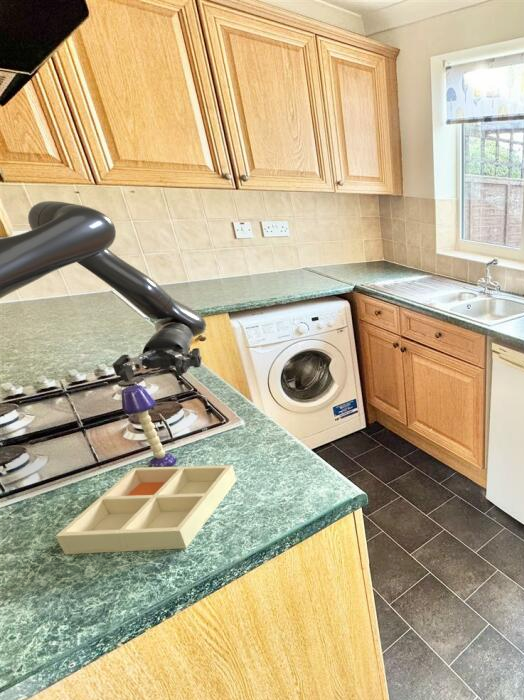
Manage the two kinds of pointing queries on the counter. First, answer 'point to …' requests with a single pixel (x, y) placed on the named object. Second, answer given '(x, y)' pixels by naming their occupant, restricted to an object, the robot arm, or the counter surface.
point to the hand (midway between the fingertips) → (152, 374)
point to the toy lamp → (146, 422)
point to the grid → (149, 510)
